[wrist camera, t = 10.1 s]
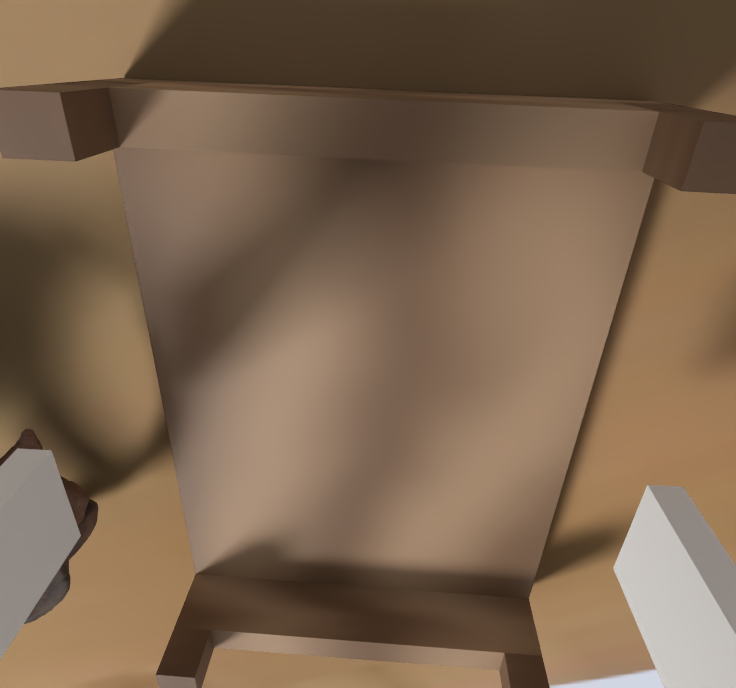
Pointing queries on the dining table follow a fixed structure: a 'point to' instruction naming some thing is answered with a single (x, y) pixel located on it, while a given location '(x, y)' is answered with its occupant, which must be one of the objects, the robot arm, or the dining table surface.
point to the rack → (372, 339)
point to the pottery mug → (85, 520)
